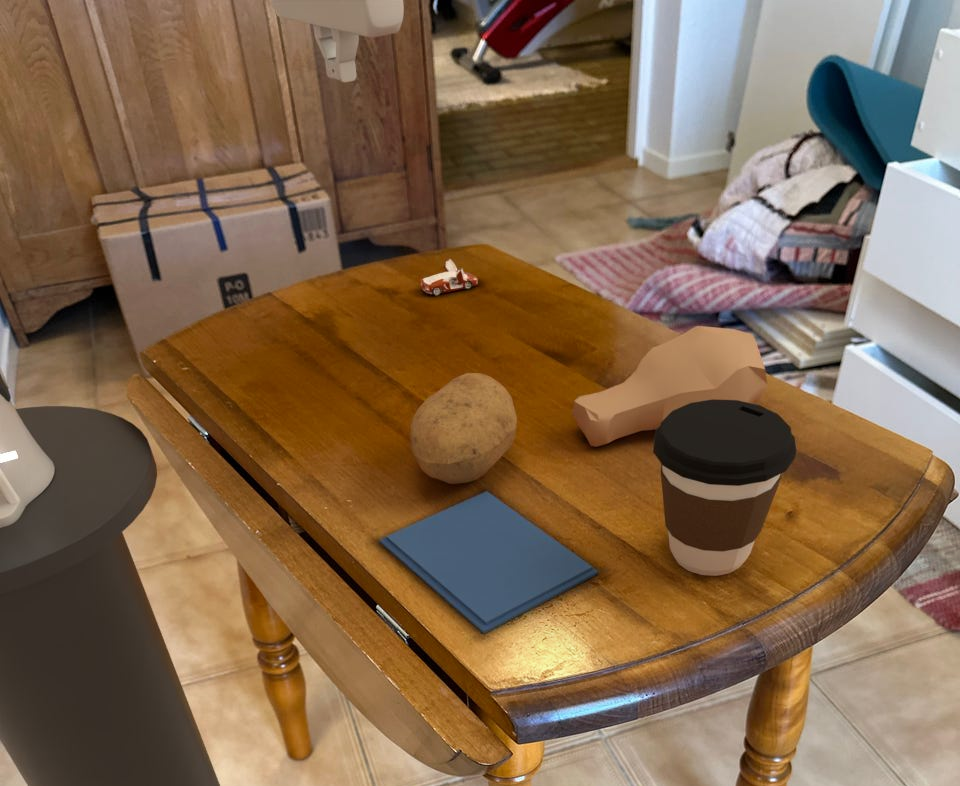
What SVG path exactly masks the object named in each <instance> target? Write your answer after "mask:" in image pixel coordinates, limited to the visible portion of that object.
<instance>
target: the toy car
mask: <svg viewBox="0 0 960 786" xmlns="http://www.w3.org/2000/svg"><path fill="white" fill-rule="evenodd" d="M442 267H443V268H444V269H445V271H444V272H439V273H437V274H434V275H433V274H432V275H430V276H429V275H428V276H425V277H423V278H421V279H420V280H419V281H420V285H419V286H420V287H421V289H422V291H423V292H425V293H426V294H430V295H433V296H436V297H437V296H440V294H443V293H449V292H453V291H454V292H455V291H459V290H464V289H466V290H471V289H472V287H475V286H478V284H479V282H478V280H479V278H478V277H477V276H476V275H474V274H472V273H470V272H467V271H464V269H463V267H461V268H460V269H458V268H457V266H456V264H455V263H454V261H453V260H452V259H451V258H449V259H445V262H444V263H443V266H442Z"/></svg>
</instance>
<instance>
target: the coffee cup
mask: <svg viewBox="0 0 960 786" xmlns="http://www.w3.org/2000/svg"><path fill="white" fill-rule="evenodd" d="M796 444H797V443H796V437H795V435H793V433H792V427H791V426H790V425H789V423H787V422H786V421H785V419H784V418H783V417H782V416H780V414H778V413H777V412H774V411H773V410H770V409H769V408H766V407H764V406H762V405H760V404H757V403H756V404H755V403H754V404H752V403H747V402H743V401H738V400H716V399H712V400H706V401H700V402H693V403H689V404H687V405H685V406H682V407H680V408H678V409H676V410H673V411H672V412H671V413H670V414H669V415H668V416H667V417H666V418H665V419H664V420H663V421H662V422H661V425H660V426H659V428H658V429H655V430H654V436H653V446H652V447H653V449H652V453H653V454H654V455H655V457H656V459H658V461H659V463H660V479H661V490H662V492H661V493H662V502H663V512H664V514H663V515H664V524H665V528H666V529H667V531H668V532H667V534H668V542H669V544H668V545H669V550H670V552H671V554H672V556H673V558H674V560H675V561H676V563H677V564H678V565H679V566H681V567H682V568H683V569H685V570H687V571H688V572H691V573H695V574H698V575H700V576H711V577H718V576H723V575H727V574H728V575H729V574H731V573H733V572H734V571H736V570H738V569H740V568H741V566H742V565H743V564H744V563H745V562H746V560H747V559H748V558H749V556H750V555H751V553H752V550H753V547H754V544H755V542H756V540H757V538H758V537H759V535H760V533H761V532H762V530H763V527H764V525H765V522H766V519H767V517H768V514H769V512H770V509H771V506H772V503H773V501H774V499H775V495H776V493H777V490H778V487H779V485H780V483H781V480H782V474H783V473H785V472H787V470H788V469H789V467H790V466H791V465H792V463H793V462H794V461H795V459H796V456H797V445H796Z"/></svg>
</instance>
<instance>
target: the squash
mask: <svg viewBox="0 0 960 786" xmlns="http://www.w3.org/2000/svg"><path fill="white" fill-rule="evenodd" d="M766 372H767V371H766V367H765V365H764V361H763V359H762V356H761V352H760V349H759V347H758V344H757V340H756V338H755V337H754V334H752V333H749V332H746V331H742V330H738V329H734V328H726V327H725V328H724V327H714V326H705V325H704V326H702V325H696V326H694V327H693V328H691V329H689V330H687V331H686V332H684V333H682V334H681V335H678V336H676V337H675V338H672V339H671V340H668V341H665V342H663V343H661V344H658V345H656V346H654V347H652V348H650V350H649V351H647V353H646V354H645V356H643V357H642V358H641V360H640V361H639V363H638V365H637V368H636V370H635V371H634V372H633V373H632V374H631V375H630V376H629V377H628V378H627V379H626V380H625V381H624V382H622V383H619V384H616V385H613V386H611V387H609V388H607V389H604V390H601V391H599V392H594V393H589V394H584V395H579V396H578V397H577V398H576V399H575V400H574V401H573V409H572V416H573V419H574V420H575V422H576V424H577V426H578V427H579V429H580V431H581V432H582V433H583V435H584V436H585V438H586V439H587V441H588V444H589V445H590V447H594V448H595V447H596V448H597V447H600V446H604V445H607V444H609V443H611V442H613V441H614V440H615V441H616V440H617V439H620V438H623V437H626V436H629V435H632V434H635V433H638V432H641V431H653V430H654V431H656V430H657V429H658V428H659V426H660V425H661V422H662V421H663V420H664V419H665V418H666V417H667V416H668V415H669V414H670V413H671V412H672V411H673V410H676V409H678V408H680V407H682V406H685V405H687V404H689V403H693V402H700V401H706V400H712V399H716V400H738V401H743V402H747V403H752V404H755V403H757V401H759V399H760V397H761V396H762V395H763V393H764V392H765V391H766V388H767V386H768V379H767V373H766Z"/></svg>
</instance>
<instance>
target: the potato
mask: <svg viewBox="0 0 960 786" xmlns="http://www.w3.org/2000/svg"><path fill="white" fill-rule="evenodd" d="M413 415H414V416H413V417H412V420H411V421H410V447H411V451H412V453H413V455H414V457H415V460H416V462H417V464H418V466H419V468H420V470H421V471H422V472H423V473H425V474H426V475H427V476H429V477H430V478H431V479H436V480H438V481H441V482H444V483H446V484H450V485H460V484H467V483H470V482H474V481H477V480H479V479H480V478H481V477H483V476H484V475H485V474H487V473H488V472H489V471H490V469H491V468H493V467H494V466H495V465H496V463H498V461H499V460H500V459H501V458H502V457H503V456H504V455H505V454H506V453H507V452H508V450H509V449H510V448H511V447H512V446H513V445H514V442H515V437H516V430H517V425H518V424H517V423H518V416H517V412H516V410H515V406H514V401H513V398H512V395H511V394H510V393H509V392H508V390H507V388H506V387H504V385H502V384H501V382H499V381H498V380H496V379H495V378H493V377H492V376H490V375H487V374H485V373H481V372H466V373H464V374H462V375H459V376H457V377H455V378H453V379H452V380H450V381H449V382H448V383H446V384H445V385H444V386H442V387H441V388H439V390H437V391H436V392H434V393H433V394H432V395H430V396H428V398H426V399H425V401H423V402H422V403H421V404H420V405H419V407H418V409H417V410H416V411H415V414H413Z"/></svg>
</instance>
